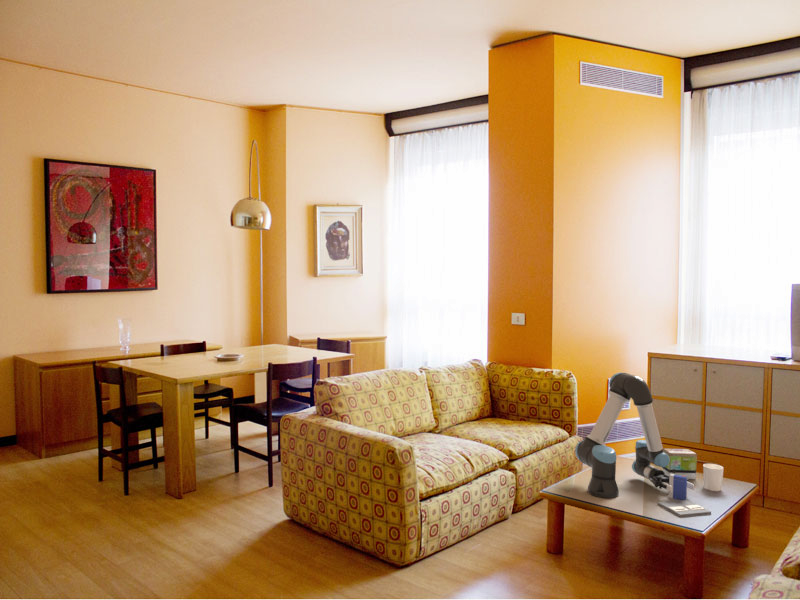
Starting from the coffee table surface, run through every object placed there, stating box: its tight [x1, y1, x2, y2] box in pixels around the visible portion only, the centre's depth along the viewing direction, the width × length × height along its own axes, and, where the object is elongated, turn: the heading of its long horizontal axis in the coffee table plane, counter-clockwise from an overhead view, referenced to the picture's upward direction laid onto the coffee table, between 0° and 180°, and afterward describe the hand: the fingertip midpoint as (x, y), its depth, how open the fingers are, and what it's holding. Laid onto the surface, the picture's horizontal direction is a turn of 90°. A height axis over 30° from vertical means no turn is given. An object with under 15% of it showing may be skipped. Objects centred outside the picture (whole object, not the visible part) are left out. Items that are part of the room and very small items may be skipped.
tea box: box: [661, 448, 698, 480], centre depth 342 cm, size 15×10×15 cm, turn 91°
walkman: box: [668, 474, 688, 500], centre depth 307 cm, size 8×3×12 cm, turn 53°
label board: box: [657, 499, 712, 518], centre depth 293 cm, size 17×16×2 cm
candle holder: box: [702, 463, 724, 492], centre depth 323 cm, size 10×10×12 cm
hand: (682, 488), depth 304 cm, fingers open, 12 cm apart
